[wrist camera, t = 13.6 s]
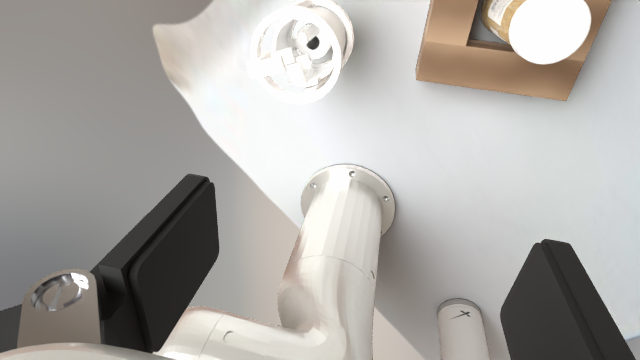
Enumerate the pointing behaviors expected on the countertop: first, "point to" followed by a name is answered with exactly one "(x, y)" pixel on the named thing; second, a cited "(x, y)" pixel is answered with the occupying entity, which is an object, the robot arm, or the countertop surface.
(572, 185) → the countertop surface
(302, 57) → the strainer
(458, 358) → the travel mug
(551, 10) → the sprinkles bottle
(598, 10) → the walnut socket block
